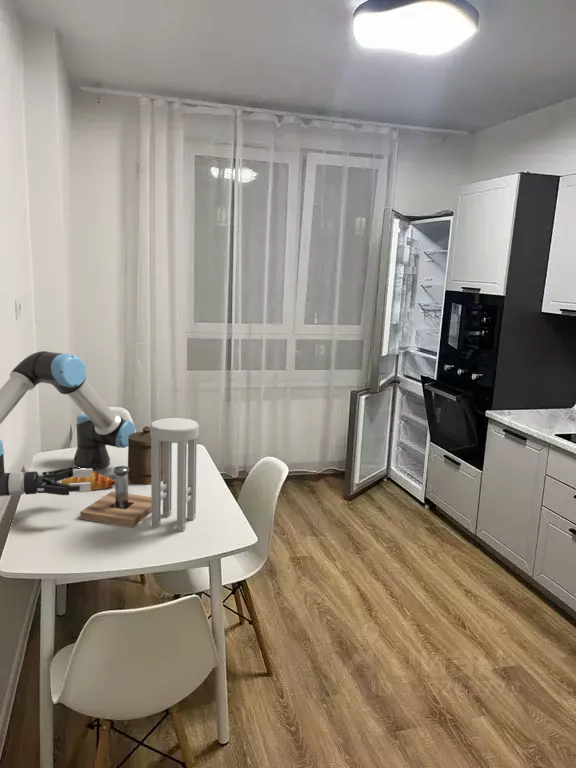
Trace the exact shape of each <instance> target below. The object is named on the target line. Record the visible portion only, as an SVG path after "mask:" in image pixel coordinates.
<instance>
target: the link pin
mask: <svg viewBox="0 0 576 768" xmlns="http://www.w3.org/2000/svg"><path fill="white" fill-rule="evenodd" d="M128 472H129V467H128V465H127V466H126V465H119V466H115V467H113V474H114V480H115V485H114V492H115V508H119V509H127V508H128V494H129V480H128Z"/></svg>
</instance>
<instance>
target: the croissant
mask: <svg viewBox="0 0 576 768" xmlns="http://www.w3.org/2000/svg"><path fill="white" fill-rule="evenodd" d="M87 482H90V489H91V490H90V491H96V490H104V489H109V488H111V487H112V486H115V479H112V478H110V477H108V476H107V477H105V476H104V475H102V474H101V473H98V472H97V471H96V470H93V476H91V477H74V478H73V476H72V477H69V478H66V479H63V480H60V483H62V484H66V485H69V484H71V483H87Z"/></svg>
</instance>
